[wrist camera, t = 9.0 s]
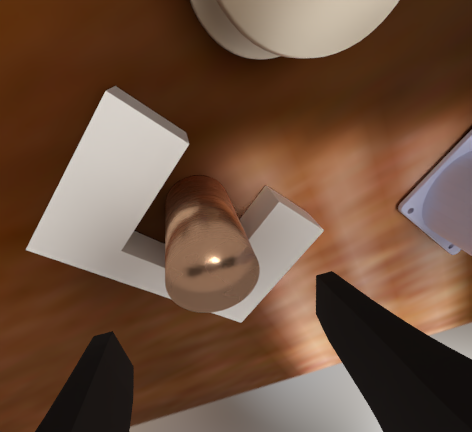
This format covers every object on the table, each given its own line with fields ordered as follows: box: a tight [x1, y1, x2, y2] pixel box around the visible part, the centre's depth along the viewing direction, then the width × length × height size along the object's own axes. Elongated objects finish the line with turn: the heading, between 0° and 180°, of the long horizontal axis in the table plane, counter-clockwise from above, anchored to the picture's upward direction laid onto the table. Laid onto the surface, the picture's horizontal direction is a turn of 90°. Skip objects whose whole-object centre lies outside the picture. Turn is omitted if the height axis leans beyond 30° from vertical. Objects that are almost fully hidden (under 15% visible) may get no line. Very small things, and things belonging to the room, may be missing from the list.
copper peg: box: [165, 175, 260, 313], centre depth 15 cm, size 4×4×7 cm
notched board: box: [26, 86, 324, 323], centre depth 17 cm, size 14×9×2 cm, turn 54°
